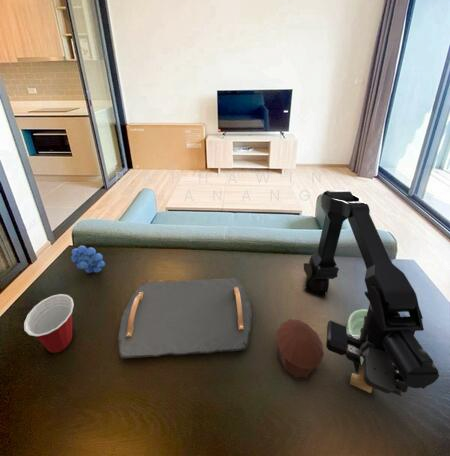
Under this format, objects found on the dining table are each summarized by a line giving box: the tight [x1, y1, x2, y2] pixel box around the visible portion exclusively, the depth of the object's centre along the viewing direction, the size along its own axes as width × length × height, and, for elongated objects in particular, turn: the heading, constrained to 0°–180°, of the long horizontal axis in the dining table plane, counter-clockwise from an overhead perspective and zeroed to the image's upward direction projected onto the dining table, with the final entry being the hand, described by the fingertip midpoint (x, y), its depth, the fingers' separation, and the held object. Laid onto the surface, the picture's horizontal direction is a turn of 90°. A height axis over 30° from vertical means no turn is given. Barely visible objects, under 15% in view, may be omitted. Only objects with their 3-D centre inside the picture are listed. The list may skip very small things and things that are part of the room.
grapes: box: [70, 245, 106, 274], centre depth 88 cm, size 12×7×12 cm, turn 88°
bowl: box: [346, 308, 368, 366], centre depth 66 cm, size 14×14×6 cm
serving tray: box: [117, 277, 253, 359], centre depth 73 cm, size 39×23×6 cm, turn 94°
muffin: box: [276, 318, 325, 379], centre depth 63 cm, size 12×11×10 cm
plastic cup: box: [23, 293, 75, 354], centre depth 66 cm, size 11×11×12 cm
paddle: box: [349, 362, 373, 394], centre depth 57 cm, size 4×2×11 cm, turn 67°
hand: (364, 373), depth 57 cm, fingers open, 3 cm apart
